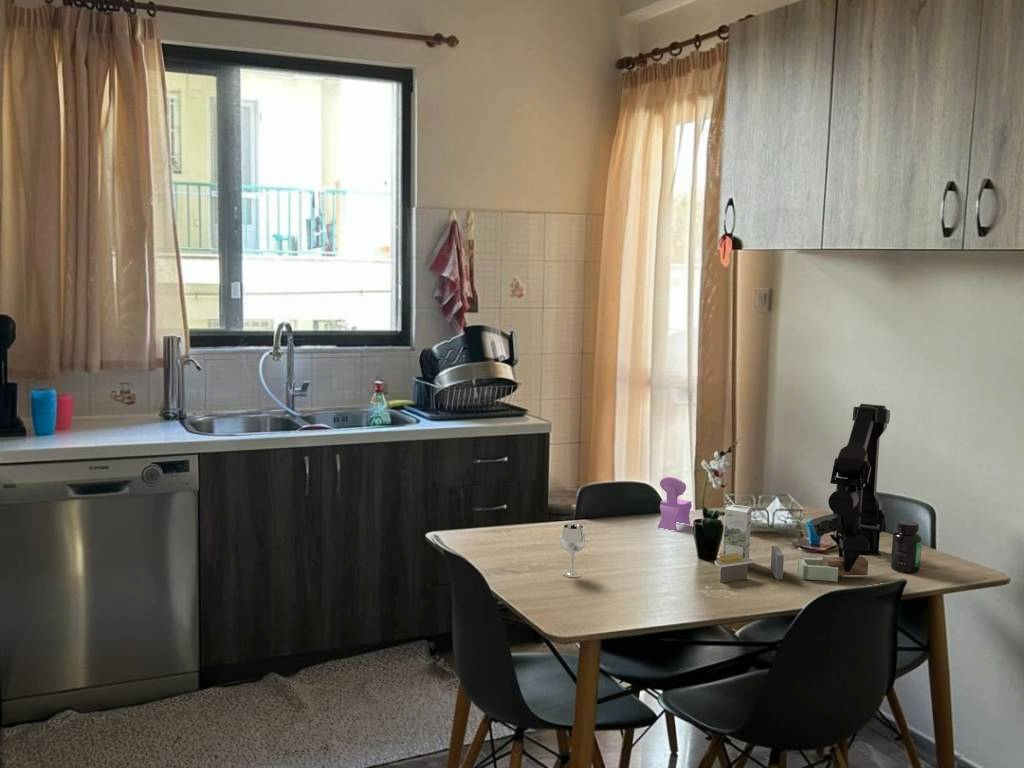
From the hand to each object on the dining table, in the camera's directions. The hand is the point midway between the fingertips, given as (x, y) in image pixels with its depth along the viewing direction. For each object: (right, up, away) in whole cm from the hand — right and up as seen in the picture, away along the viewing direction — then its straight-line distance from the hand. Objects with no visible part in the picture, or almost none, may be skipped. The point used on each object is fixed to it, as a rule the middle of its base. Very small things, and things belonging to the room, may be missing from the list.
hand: (845, 568), depth 246 cm
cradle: (-7, -2, +1) cm, 7 cm away
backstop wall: (-16, -2, +2) cm, 16 cm away
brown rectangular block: (0, -1, 0) cm, 1 cm away
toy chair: (-34, +4, +44) cm, 56 cm away
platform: (-28, -3, -3) cm, 29 cm away
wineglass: (-66, -1, -2) cm, 67 cm away
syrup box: (-24, -1, +10) cm, 26 cm away
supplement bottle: (+18, -2, +8) cm, 19 cm away
